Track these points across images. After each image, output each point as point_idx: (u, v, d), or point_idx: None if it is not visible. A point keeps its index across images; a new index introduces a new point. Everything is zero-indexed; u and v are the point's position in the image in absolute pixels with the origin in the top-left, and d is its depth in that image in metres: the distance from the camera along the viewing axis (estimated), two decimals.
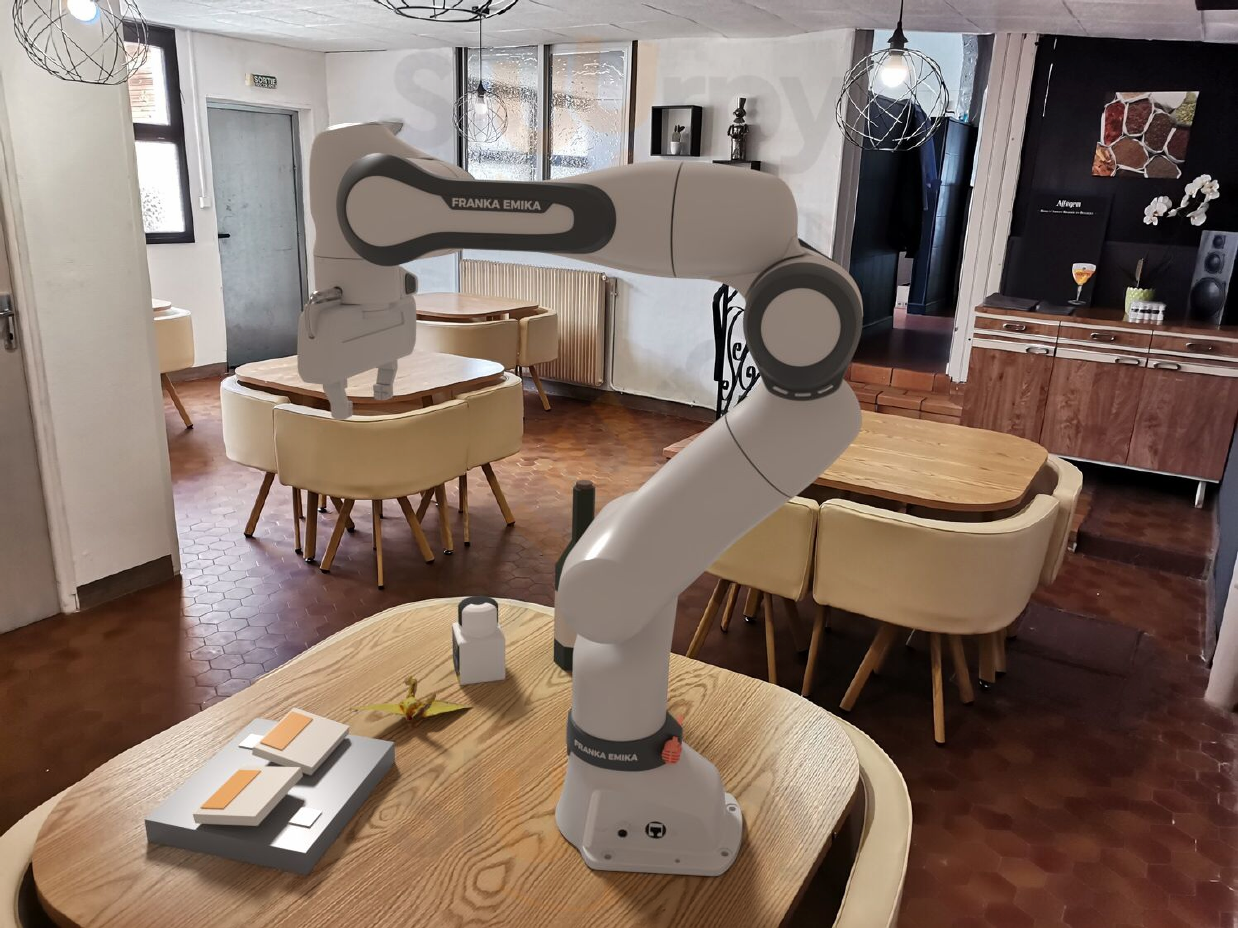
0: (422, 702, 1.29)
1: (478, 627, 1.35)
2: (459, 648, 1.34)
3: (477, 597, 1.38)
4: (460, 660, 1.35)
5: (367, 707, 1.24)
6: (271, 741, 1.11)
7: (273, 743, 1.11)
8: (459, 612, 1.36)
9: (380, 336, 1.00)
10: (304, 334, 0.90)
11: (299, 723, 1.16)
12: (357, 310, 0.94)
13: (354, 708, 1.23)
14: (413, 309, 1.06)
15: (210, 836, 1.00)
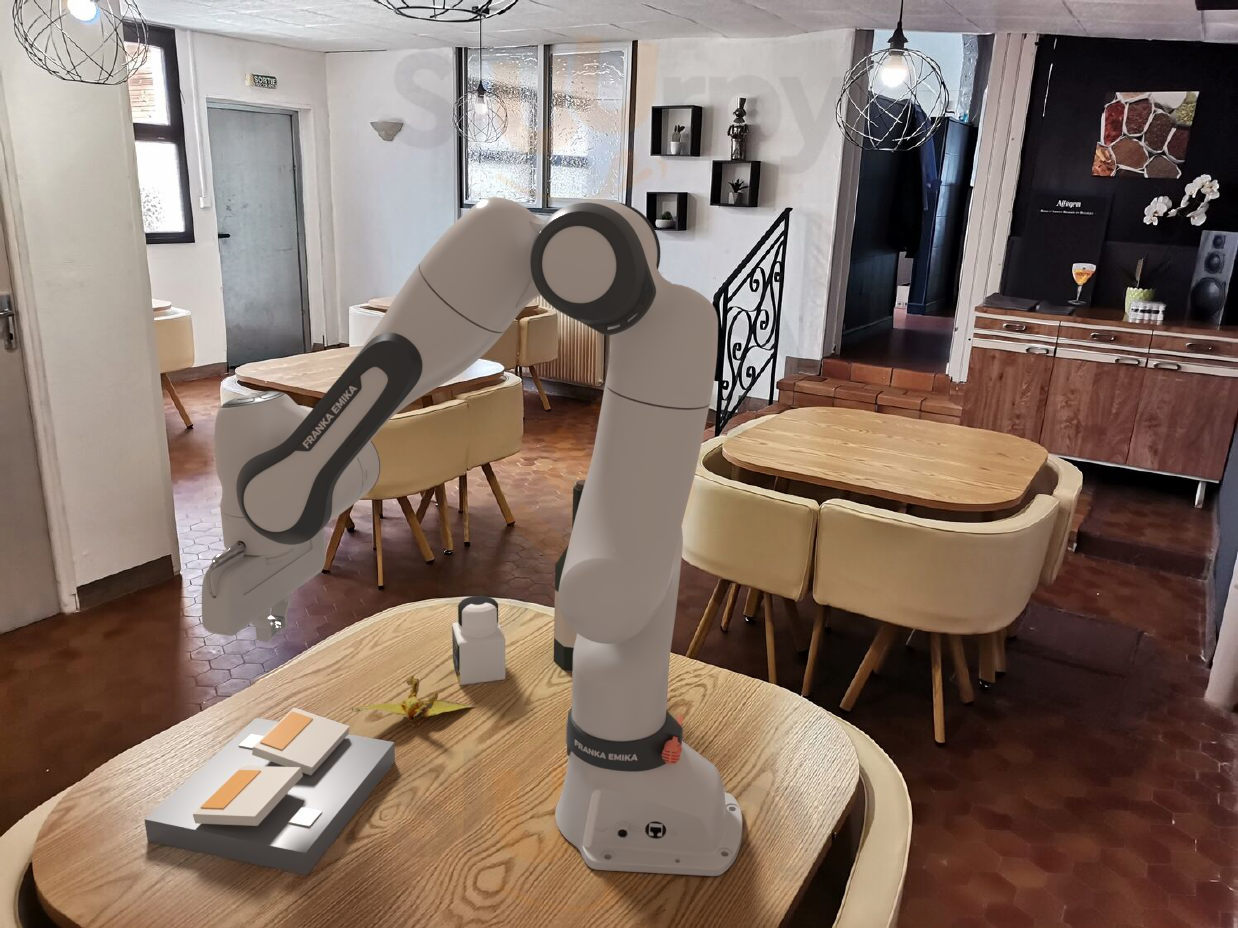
0: (424, 702, 1.29)
1: (478, 627, 1.35)
2: (459, 648, 1.34)
3: (477, 597, 1.38)
4: (460, 660, 1.35)
5: (369, 707, 1.24)
6: (271, 741, 1.11)
7: (273, 743, 1.11)
8: (459, 612, 1.36)
9: (286, 571, 1.09)
10: (207, 593, 0.99)
11: (299, 723, 1.16)
12: (260, 560, 1.03)
13: (356, 708, 1.23)
14: (321, 534, 1.15)
15: (210, 836, 1.00)
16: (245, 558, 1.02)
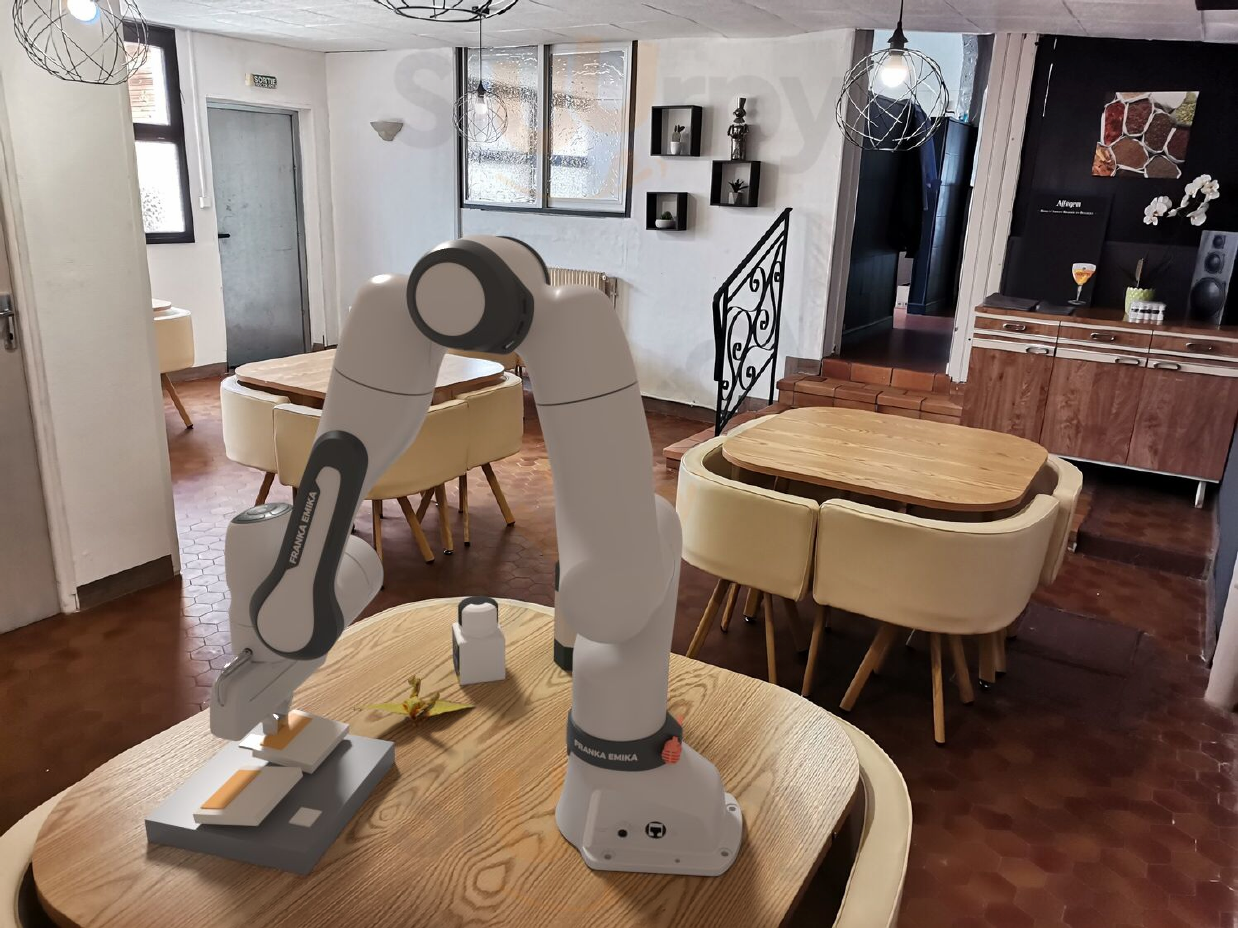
0: (426, 701, 1.30)
1: (478, 627, 1.35)
2: (459, 648, 1.34)
3: (477, 597, 1.38)
4: (460, 660, 1.35)
5: (371, 706, 1.24)
6: (271, 742, 1.12)
7: (273, 744, 1.11)
8: (459, 612, 1.36)
9: (290, 671, 1.13)
10: (215, 701, 1.03)
11: (299, 724, 1.16)
12: (266, 665, 1.07)
13: (358, 707, 1.23)
14: None
15: (210, 836, 1.00)
16: (252, 664, 1.06)
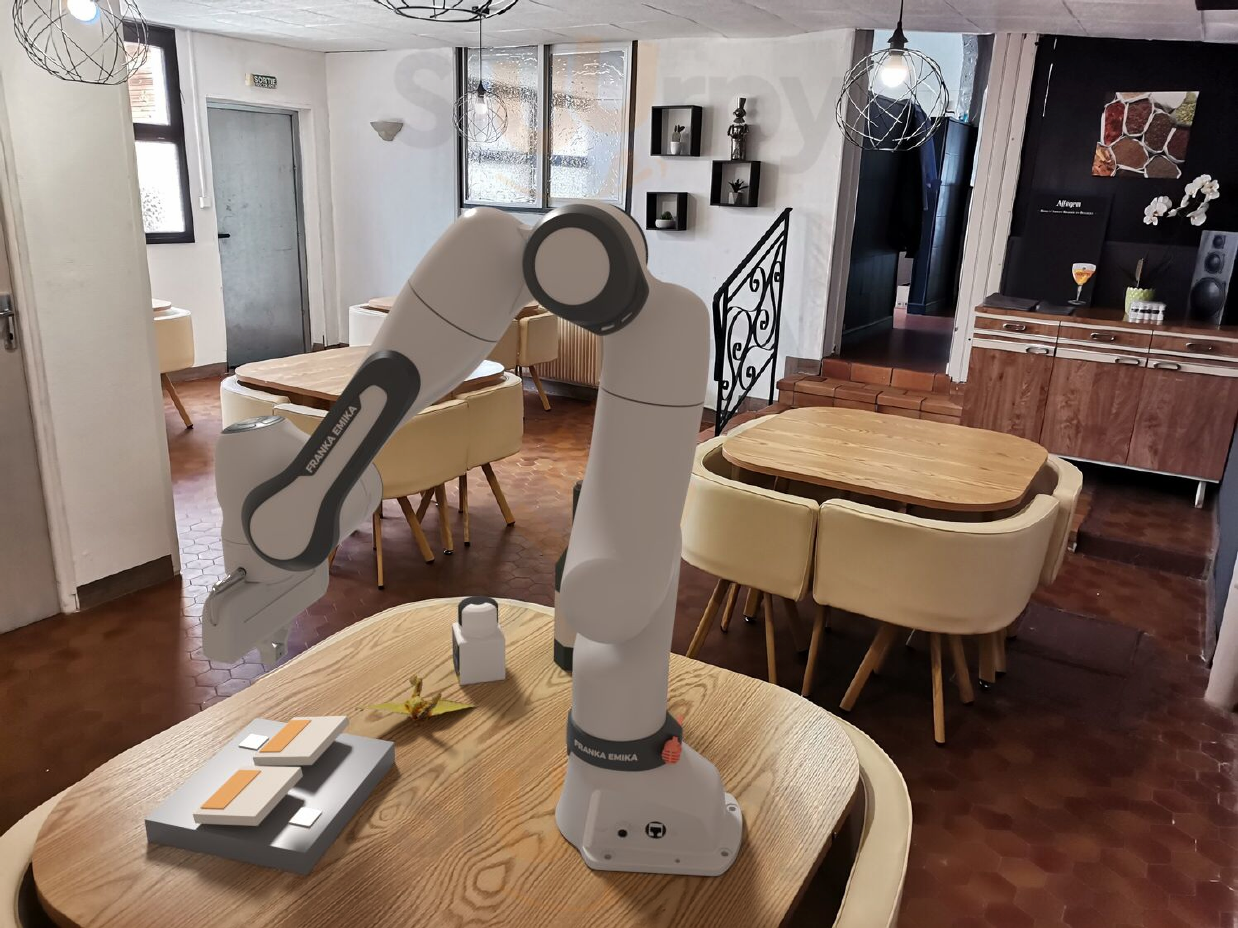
0: (427, 701, 1.30)
1: (478, 627, 1.35)
2: (459, 648, 1.34)
3: (477, 597, 1.38)
4: (460, 660, 1.35)
5: (373, 706, 1.24)
6: (270, 747, 1.12)
7: (272, 748, 1.12)
8: (459, 612, 1.36)
9: (288, 596, 1.07)
10: (207, 621, 0.98)
11: (297, 727, 1.16)
12: (261, 586, 1.02)
13: (360, 707, 1.23)
14: None
15: (210, 836, 1.00)
16: (246, 585, 1.01)
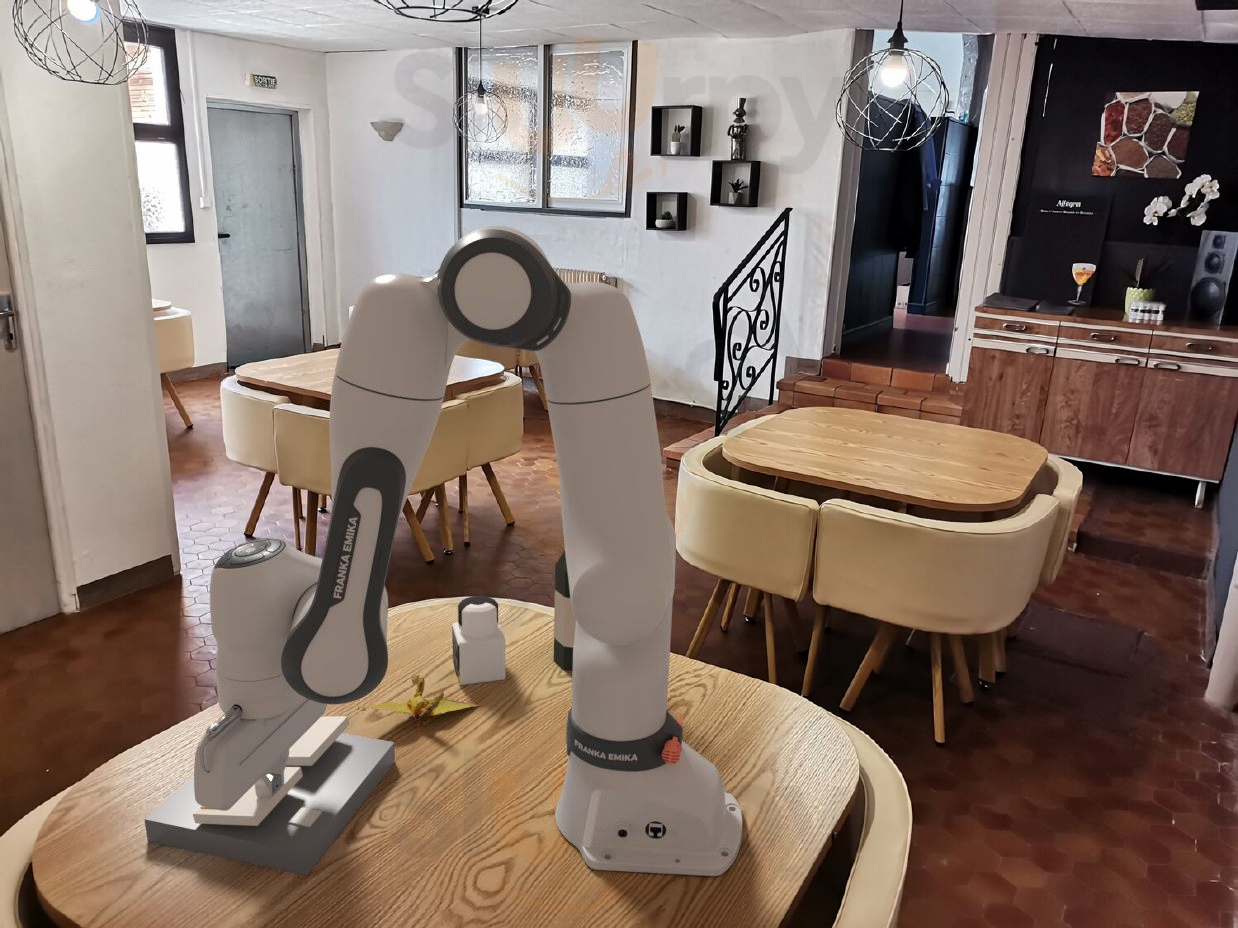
0: (429, 701, 1.30)
1: (478, 627, 1.35)
2: (459, 648, 1.34)
3: (477, 597, 1.38)
4: (460, 660, 1.35)
5: (375, 706, 1.25)
6: None
7: None
8: (459, 612, 1.36)
9: (285, 726, 1.01)
10: (200, 767, 0.91)
11: None
12: (257, 723, 0.96)
13: (362, 707, 1.23)
14: None
15: (210, 836, 1.00)
16: (241, 723, 0.95)
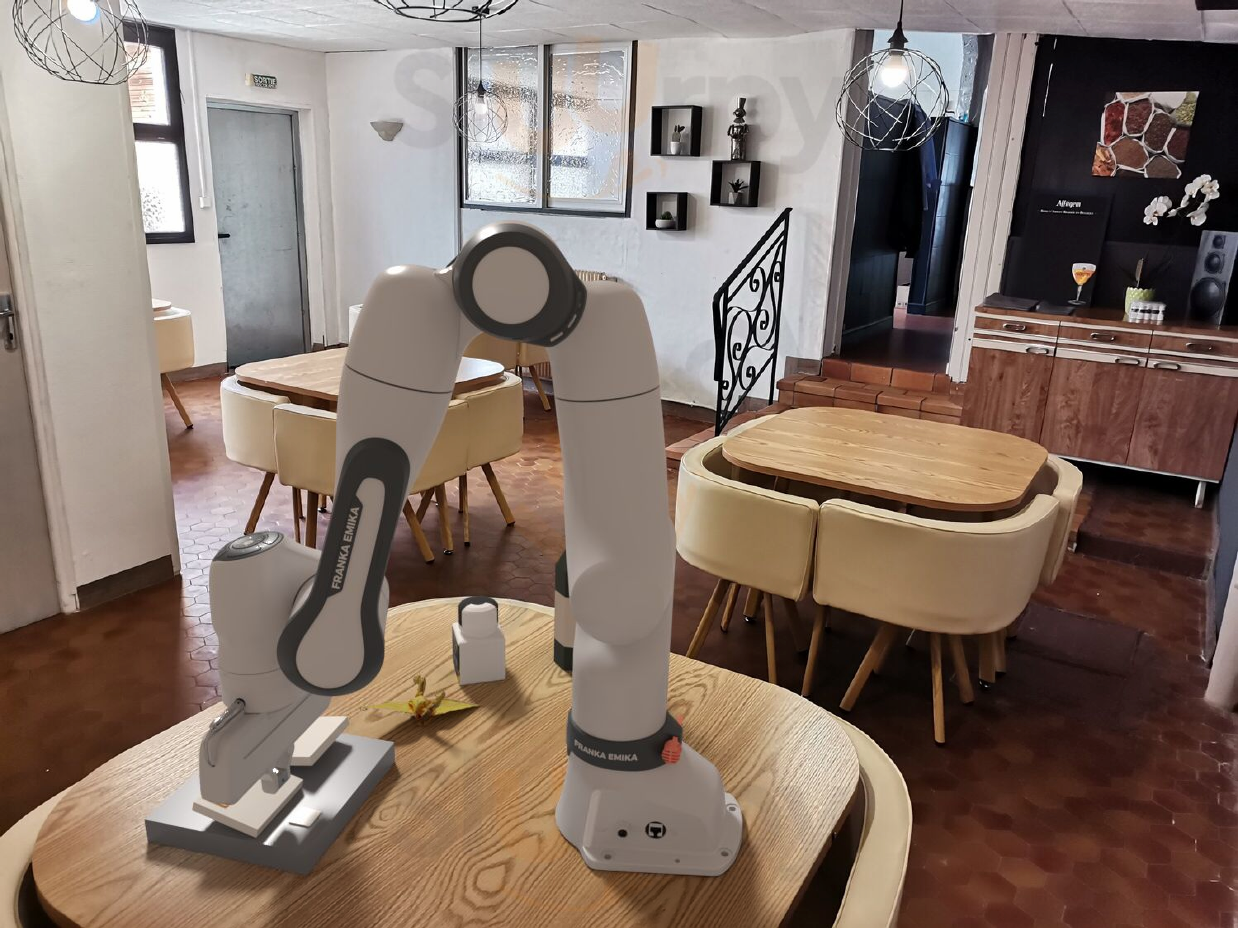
0: (431, 701, 1.30)
1: (478, 627, 1.35)
2: (459, 648, 1.34)
3: (477, 597, 1.38)
4: (460, 660, 1.35)
5: (376, 706, 1.25)
6: None
7: None
8: (459, 612, 1.36)
9: (290, 720, 1.01)
10: (205, 761, 0.91)
11: None
12: (261, 716, 0.95)
13: (364, 707, 1.23)
14: None
15: (210, 836, 1.00)
16: (245, 717, 0.94)
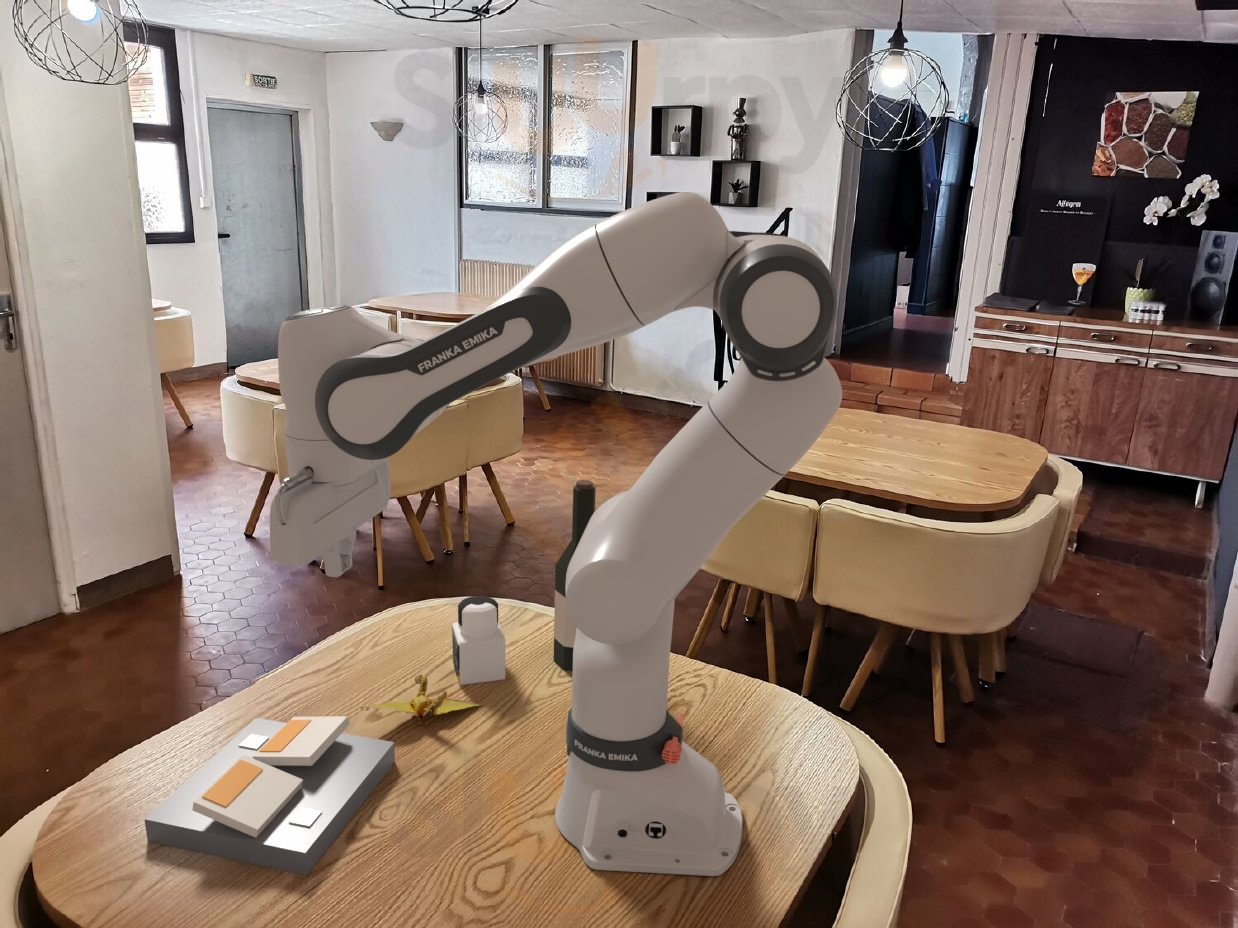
0: (432, 700, 1.30)
1: (478, 627, 1.35)
2: (459, 648, 1.34)
3: (477, 597, 1.38)
4: (460, 660, 1.35)
5: (378, 705, 1.25)
6: (270, 747, 1.12)
7: (272, 748, 1.12)
8: (459, 612, 1.36)
9: (353, 503, 1.01)
10: (276, 520, 0.91)
11: (297, 726, 1.16)
12: (329, 487, 0.96)
13: (365, 706, 1.23)
14: (386, 466, 1.07)
15: (210, 836, 1.00)
16: (313, 484, 0.95)
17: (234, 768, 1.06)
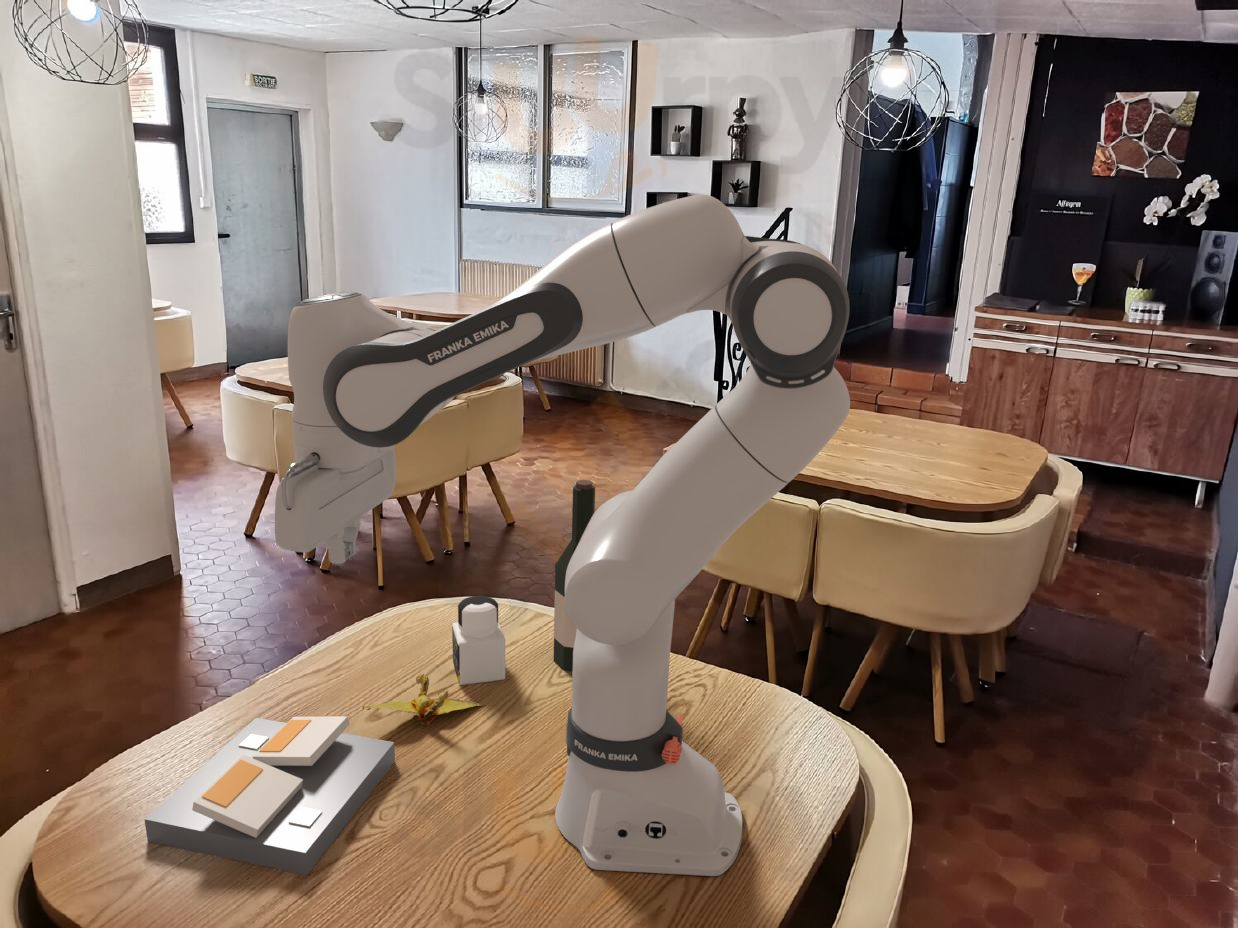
0: (434, 700, 1.30)
1: (478, 627, 1.35)
2: (459, 648, 1.34)
3: (477, 597, 1.38)
4: (460, 660, 1.35)
5: (380, 705, 1.25)
6: (270, 747, 1.12)
7: (272, 748, 1.12)
8: (459, 612, 1.36)
9: (358, 490, 1.01)
10: (281, 505, 0.91)
11: (297, 726, 1.16)
12: (334, 473, 0.96)
13: (367, 706, 1.23)
14: (392, 455, 1.07)
15: (210, 836, 1.00)
16: (319, 471, 0.95)
17: (234, 768, 1.06)
